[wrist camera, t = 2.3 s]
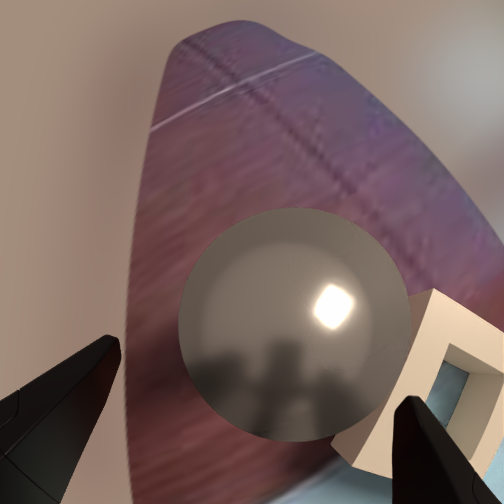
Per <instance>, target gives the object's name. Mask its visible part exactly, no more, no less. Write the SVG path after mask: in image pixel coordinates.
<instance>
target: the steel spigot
mask: <svg viewBox="0 0 504 504" xmlns="http://www.w3.org/2000/svg"><path fill="white" fill-rule="evenodd" d="M178 332H179V343H180V348H181V353H182V357H183V360H184V363H185V366H186V369H187V371H188V374H189V376H190V378H191V380H192V381H193V383H194V385H195V387H196V389H197V390H198V391H199V393H200V394H201V396H202V397H203V398H204V400H205V401H206V402H207V403H208V404H209V405H210V406H211V407H212V408H213V409H214V410H215V411H216V412H217V413H218V414H219V415H220V416H222V417H223V418H224V419H226V420H227V421H228V422H230V423H231V424H233V425H235V426H236V427H238V428H240V429H242V430H244V431H246V432H248V433H251V434H253V435H256V436H259V437H262V438H266V439H271V440H275V441H285V442H304V441H312V440H317V439H322V438H326V437H329V436H332V435H335V434H338V433H340V432H342V431H344V430H346V429H348V428H350V427H352V426H354V425H355V424H357V423H358V422H360V421H361V420H363V419H364V418H365V417H367V416H368V415H369V414H370V413H371V412H373V411H374V410H375V409H376V408H377V407H378V406H379V405H380V403H381V402H382V401H383V400H384V399H385V398H386V396H387V395H388V394H389V392H390V391H391V389H392V388H393V386H394V385H395V383H396V381H397V379H398V377H399V375H400V374H401V371H402V369H403V366H404V363H405V361H406V358H407V354H408V349H409V345H410V337H411V311H410V304H409V298H408V295H407V291H406V287H405V285H404V282H403V280H402V277H401V275H400V273H399V271H398V269H397V267H396V265H395V264H394V262H393V260H392V259H391V257H390V256H389V255H388V253H387V252H386V251H385V249H384V248H383V247H382V246H381V245H380V244H379V243H378V242H377V241H376V240H375V239H374V238H373V237H372V236H371V235H369V234H368V233H367V232H366V231H365V230H363V229H362V228H360V227H359V226H357V225H356V224H354V223H352V222H351V221H349V220H346V219H344V218H342V217H340V216H338V215H335V214H332V213H329V212H326V211H321V210H316V209H311V208H297V207H294V208H280V209H275V210H269V211H265V212H262V213H259V214H256V215H253V216H251V217H248V218H246V219H244V220H242V221H240V222H238V223H237V224H235V225H233V226H232V227H230V228H229V229H227V230H226V231H225V232H223V233H222V234H221V235H220V236H219V237H218V238H216V239H215V240H214V241H213V242H212V243H211V244H210V245H209V247H208V248H207V249H206V250H205V251H204V252H203V254H202V255H201V257H200V258H199V259H198V261H197V262H196V264H195V265H194V267H193V269H192V271H191V273H190V275H189V277H188V279H187V282H186V285H185V288H184V291H183V294H182V298H181V303H180V308H179V319H178Z"/></svg>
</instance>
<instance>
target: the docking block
mask: <svg viewBox="0 0 504 504" xmlns="http://www.w3.org/2000/svg"><path fill="white" fill-rule="evenodd" d="M408 298H409V304H410V311H411V337H410V345H409V349H408V354H407V358H406V361H405V363H404V366H403V369H402V371H401V374H400V375H399V377H398V379H397V381H396V383H395V385H394V386H393V388H392V389H391V391H390V392H389V394H388V395H387V396H386V398H385V399H384V400H383V401H382V402H381V403H380V405H379V406H378V407H377V408H376V409H375V410H374V411H373V412H371V413H370V414H369V415H368V416H367V417H365V418H364V419H363V420H361V421H360V422H358V423H357V424H355V425H354V426H352V427H350V428H348V429H346V430H344V431H342V432H340V433H338V434H336V435H335V437H334V439H333V440H332V442H331V444H330V445H331V446H332V447H333V448H334V449H335V450H336V451H337V452H338V453H339V454H340V455H341V456H342V457H343V458H344V459H345V460H346V461H347V462H348V463H349V464H350V465H351V466H352V467H355V468H358V469H361V470H365V471H368V472H371V473H374V474H378V475H381V476H384V477H388V478H392V440H393V419H394V412H395V410H396V408H397V407H398V406H399V404H400V403H401V402H402V401H403V400H404V398H405V397H406V396H408V395H416V396H419V397H420V398H421V399H422V400H423V401H424V403H425V402H426V399H427V397H428V395H429V393H430V390H431V388H432V386H433V384H434V381H435V379H436V376H437V374H438V371H439V369H440V366H441V364H442V361H443V360H445V361H447V362H448V363H450V364H452V365H454V366H456V367H458V368H460V369H462V370H464V371H466V372H468V373H469V376H468V378H467V381H466V384H465V386H464V389H463V391H462V394H461V396H460V398H459V401H458V403H457V405H456V408H455V410H454V412H453V415H452V417H451V419H450V421H449V423H448V425H447V427H446V431H447V433H448V434H449V435H450V437H451V438H452V439H453V441H454V442H455V443H456V445H457V446H458V447H459V449H460V450H461V451H462V453H463V454H464V455H465V457H466V458H467V460H468V461H469V462H470V464H471V465H472V466H473V468H474V469H475V471H476V472H477V473H478V475H479V476H480V477H481V479H483V477H484V475H485V473H486V472H487V470H488V468H489V466H490V464H491V462H492V460H493V458H494V456H495V454H496V452H497V450H498V447H499V445H500V443H501V441H502V439H503V436H504V333H503V332H501V331H500V330H498V329H497V328H495V327H494V326H492V325H491V324H489V323H488V322H486V321H485V320H483V319H482V318H480V317H479V316H477V315H475V314H474V313H472V312H471V311H469V310H468V309H466V308H464V307H463V306H461V305H460V304H458V303H457V302H455V301H453V300H452V299H450V298H449V297H447V296H445V295H444V294H442V293H440V292H439V291H437V290H435V289H434V288H433V289H430V290H427V291H424V292H421V293H418V294H415V295H412V296H409V297H408Z"/></svg>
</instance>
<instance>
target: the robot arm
mask: <svg viewBox="0 0 504 504" xmlns="http://www.w3.org/2000/svg"><path fill="white" fill-rule="evenodd" d="M120 362H121V350H120V342H119V339H118V338H117V337H113V336H111V335H104V336H102V337H101V338H99V339H97V340H96V341H94V342H93V343H91V344H90V345H88V346H86V347H85V348H83V349H82V350H80V351H78V352H77V353H75V354H74V355H72V356H70V357H69V358H67V359H66V360H64V361H62V362H61V363H59V364H58V365H56V366H55V367H53V368H51V369H50V370H49V371H47V372H45V373H44V374H42V375H40V376H39V377H37V378H36V379H34V380H33V381H31V382H30V383H28V384H26V385H25V386H23V387H22V388H20V390H17V391H15V392H14V393H12V394H10V395H9V396H7V397H5V398H4V399H2V400H1V401H0V504H60V503H61V500H62V498H63V495H64V493H65V491H66V488H67V486H68V484H69V482H70V479H71V477H72V475H73V472H74V470H75V468H76V466H77V463H78V461H79V459H80V457H81V455H82V452H83V450H84V448H85V446H86V444H87V442H88V439H89V437H90V435H91V433H92V431H93V429H94V427H95V425H96V423H97V420H98V418H99V416H100V414H101V412H102V410H103V408H104V406H105V404H106V401H107V398H108V396H109V393H110V390H111V387H112V384H113V382H114V379H115V376H116V373H117V370H118V368H119V365H120ZM392 504H502V503H501V502H500V501H499V500H498V499H497V498H496V496H495V495H494V494H493V493H492V492H491V490H490V489H489V488H488V487H487V485H486V484H485V483H484V481H483V480H482V479H481V477H480V476H479V475H478V473H477V472H476V471H475V469H474V468H473V466H472V465H471V464H470V462H469V461H468V460H467V458H466V457H465V455H464V454H463V453H462V451H461V450H460V449H459V447H458V446H457V445H456V443H455V442H454V441H453V439H452V438H451V437H450V435H449V434H448V433H447V431H446V430H445V429H444V427H443V426H442V425H441V423H440V422H439V421H438V419H437V418H436V417H435V416H434V414H433V413H432V412H431V410H430V409H429V408H428V406H427V405H426V404H425V403H424V401H423V400H422V399H421V398H420V397H419V396H416V395H408V396H406V397H405V398H404V400H403V401H402V402H401V403H400V404H399V406H398V407H397V408H396V410H395V412H394V419H393V440H392Z"/></svg>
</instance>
